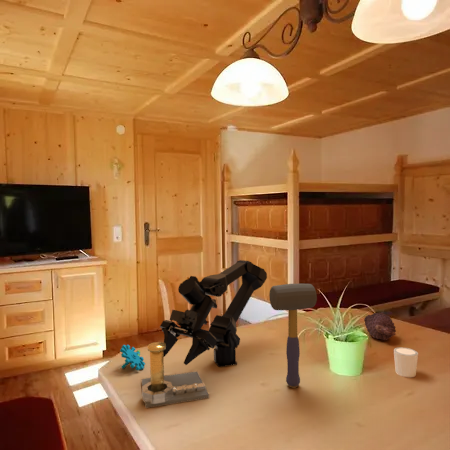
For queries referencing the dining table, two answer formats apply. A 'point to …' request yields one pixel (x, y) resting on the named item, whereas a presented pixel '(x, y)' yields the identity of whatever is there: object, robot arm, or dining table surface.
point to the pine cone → (380, 326)
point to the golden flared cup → (157, 365)
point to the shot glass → (405, 361)
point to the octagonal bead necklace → (168, 391)
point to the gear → (132, 357)
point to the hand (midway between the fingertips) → (173, 360)
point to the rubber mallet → (292, 320)
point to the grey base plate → (179, 381)
